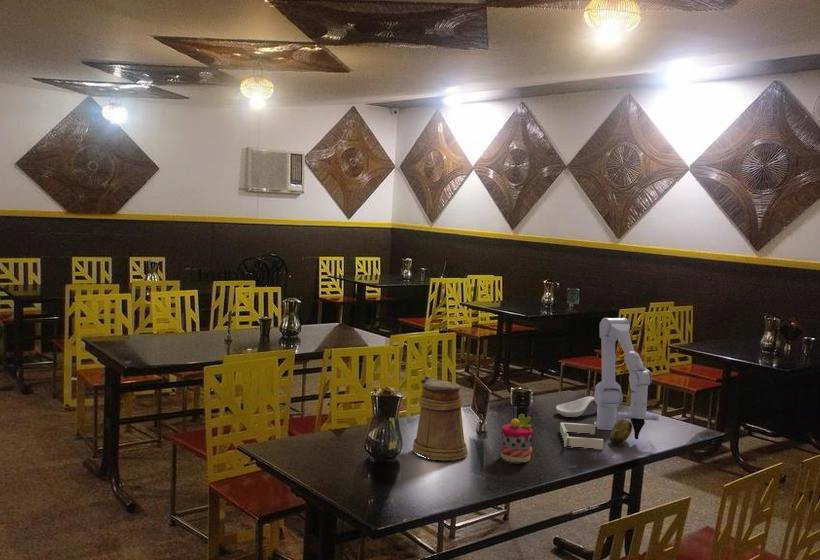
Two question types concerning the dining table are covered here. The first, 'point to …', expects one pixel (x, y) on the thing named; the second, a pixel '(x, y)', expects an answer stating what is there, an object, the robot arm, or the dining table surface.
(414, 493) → the dining table surface
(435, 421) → the tankard
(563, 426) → the corral
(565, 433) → the flag
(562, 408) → the spoon rest
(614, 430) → the potato
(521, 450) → the cake
